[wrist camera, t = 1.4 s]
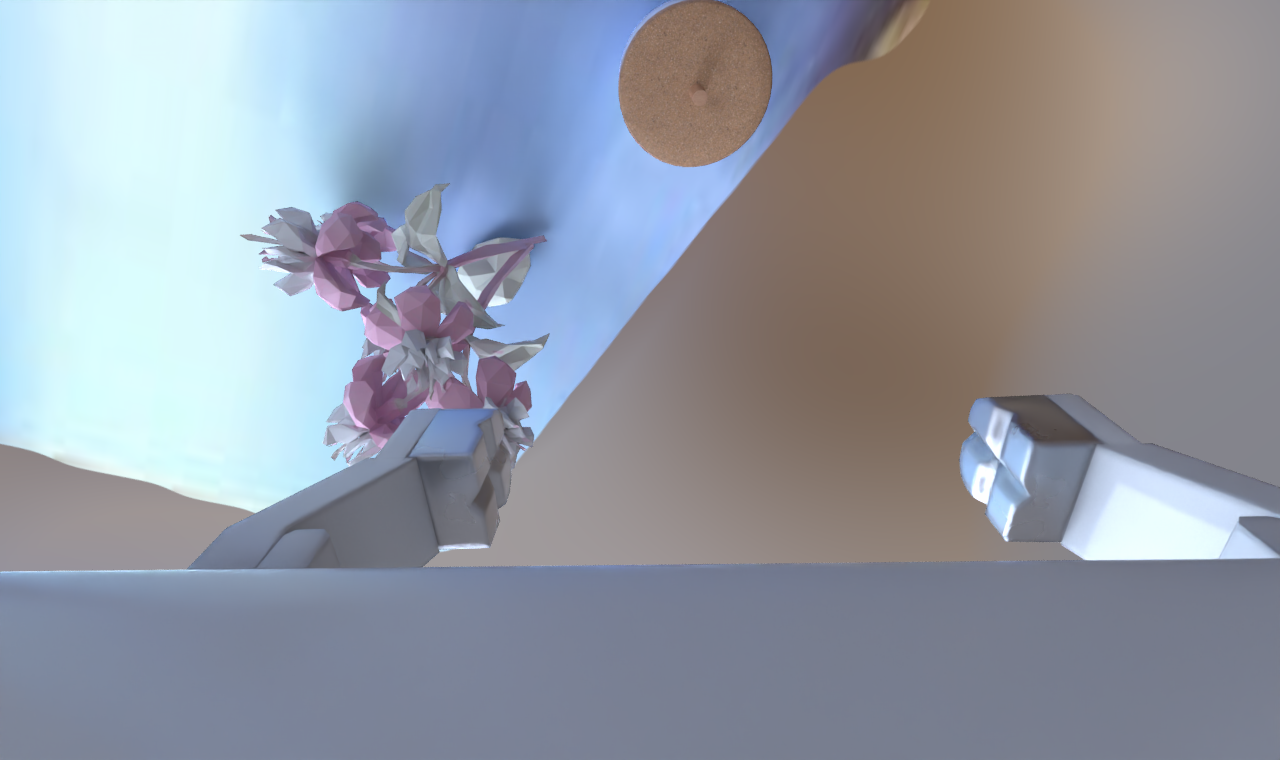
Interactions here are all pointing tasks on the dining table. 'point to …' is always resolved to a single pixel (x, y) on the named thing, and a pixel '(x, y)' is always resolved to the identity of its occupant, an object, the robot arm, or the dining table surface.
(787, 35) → the dining table surface
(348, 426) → the flower
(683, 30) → the trinket box
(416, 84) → the dining table surface
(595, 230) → the dining table surface
